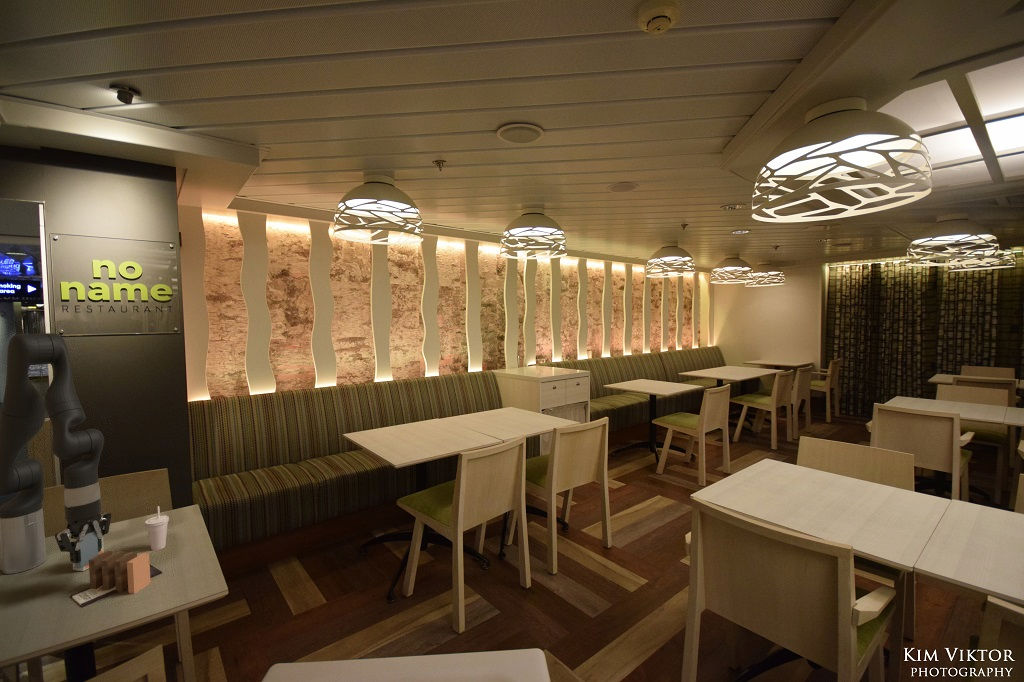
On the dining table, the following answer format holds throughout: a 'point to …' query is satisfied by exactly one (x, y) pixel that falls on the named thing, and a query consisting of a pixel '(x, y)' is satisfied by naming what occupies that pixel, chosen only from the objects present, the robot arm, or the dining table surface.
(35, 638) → the dining table surface
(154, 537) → the smoothie
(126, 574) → the domino
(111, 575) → the domino
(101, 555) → the domino
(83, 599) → the chocolate bar
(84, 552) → the domino
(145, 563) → the domino end
